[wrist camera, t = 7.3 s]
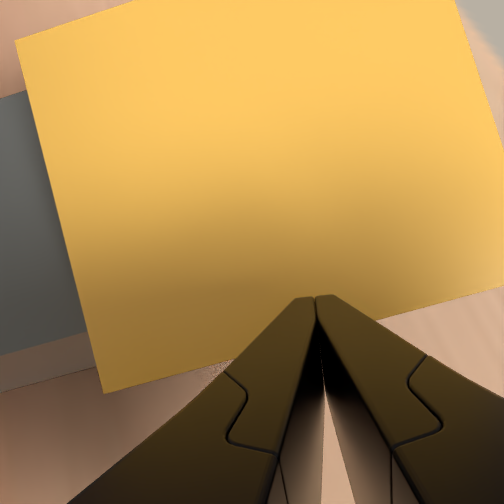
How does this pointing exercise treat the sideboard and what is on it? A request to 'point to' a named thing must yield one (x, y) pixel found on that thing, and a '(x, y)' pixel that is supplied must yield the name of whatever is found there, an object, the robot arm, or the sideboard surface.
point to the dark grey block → (34, 263)
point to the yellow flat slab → (262, 168)
